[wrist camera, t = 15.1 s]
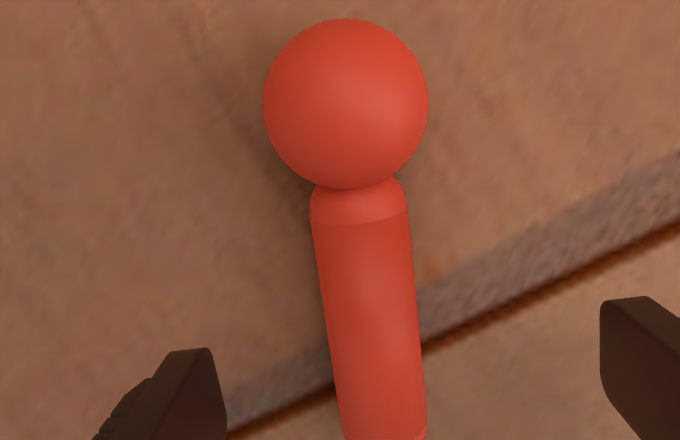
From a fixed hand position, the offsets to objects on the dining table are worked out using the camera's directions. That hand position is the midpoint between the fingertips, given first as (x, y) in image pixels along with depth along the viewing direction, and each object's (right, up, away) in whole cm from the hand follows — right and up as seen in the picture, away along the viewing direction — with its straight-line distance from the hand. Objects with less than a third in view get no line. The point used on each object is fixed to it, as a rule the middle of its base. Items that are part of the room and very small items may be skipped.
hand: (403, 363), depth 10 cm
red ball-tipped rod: (-1, +3, +3) cm, 5 cm away
